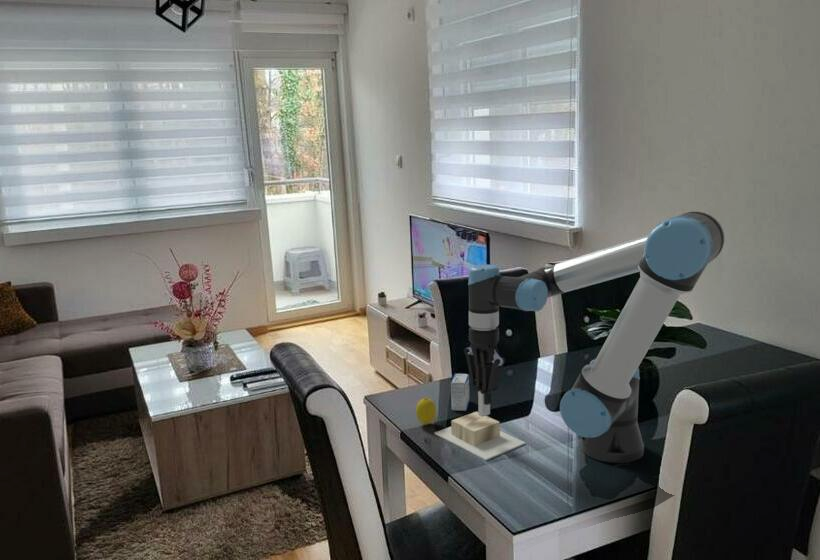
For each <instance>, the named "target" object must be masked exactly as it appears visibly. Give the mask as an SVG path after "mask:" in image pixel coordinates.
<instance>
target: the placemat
mask: <svg viewBox="0 0 820 560" xmlns="http://www.w3.org/2000/svg"><path fill="white" fill-rule="evenodd" d="M433 433H434V435H436V436H437V437H440V438H441V439H444V441H447V442H449V443H450V444H452V445H455V446H457V447H458V448H460V449H463V450H465V451H467V453H470V454H472V455H474V456H475V457H477V458H479V459H482V460H483V461H485V462H486V461H489V460H492V459H493V458H496V457H498V456H500V455H503V454H505V453H507V452H510V451H513V450H515V449H518V448H520V447H522V446H524V445H526V442H525V441H523V440H521V439H519V438H516V437H514V436H513V435H510V434H507V433H506V432H504V431H501V430H500V436H499V437H496V438H494V439H491V440H489V441H486V442H484V443H481V444H479V445H476V446H473V445H471V444H469V443H467V442H465V441H463V440H461V439H459V438H457V437H455V436H453V435H452V434H451V426H449V427H445V428H444V429H443V428H442V429H441V430H438V431H435V432H433Z"/></svg>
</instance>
